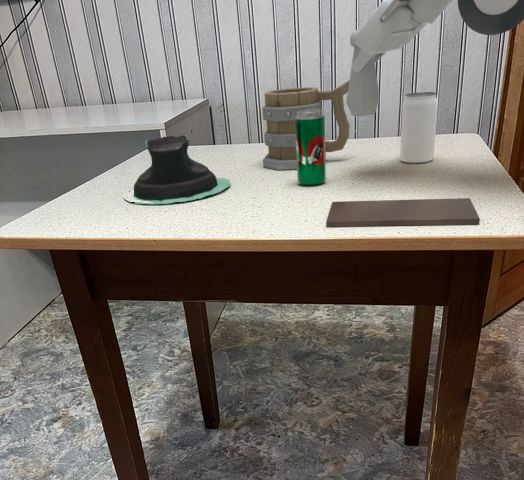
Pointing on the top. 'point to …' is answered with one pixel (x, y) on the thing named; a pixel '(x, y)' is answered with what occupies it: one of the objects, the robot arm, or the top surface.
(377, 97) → the salt shaker
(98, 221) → the top surface
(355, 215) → the dark brown board
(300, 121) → the soda can
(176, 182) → the dark flared mound
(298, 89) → the tankard
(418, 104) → the can
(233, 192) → the top surface
